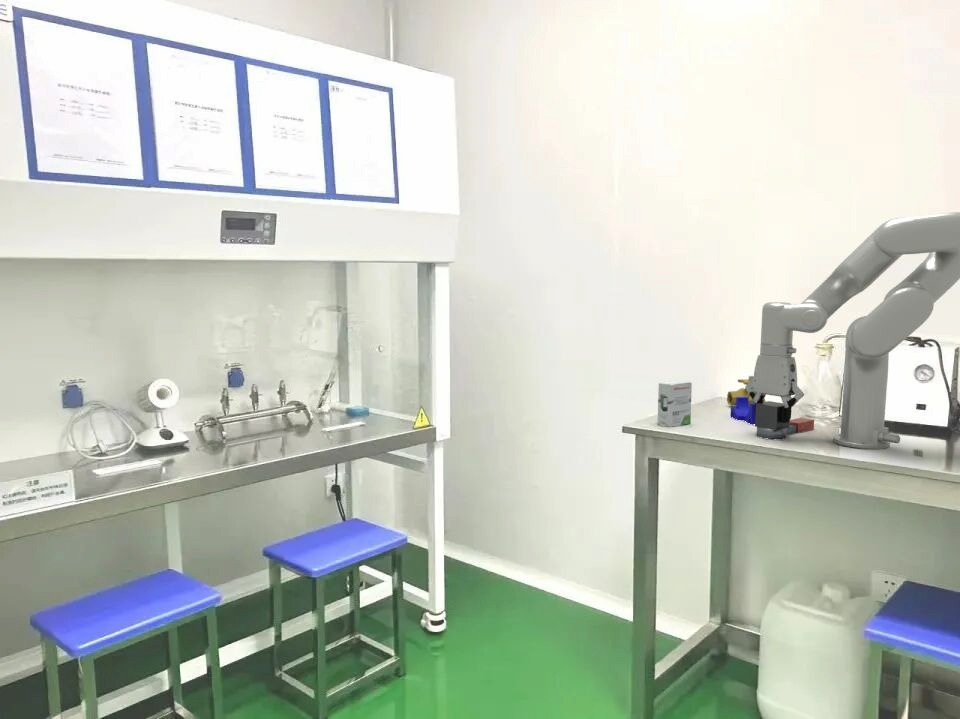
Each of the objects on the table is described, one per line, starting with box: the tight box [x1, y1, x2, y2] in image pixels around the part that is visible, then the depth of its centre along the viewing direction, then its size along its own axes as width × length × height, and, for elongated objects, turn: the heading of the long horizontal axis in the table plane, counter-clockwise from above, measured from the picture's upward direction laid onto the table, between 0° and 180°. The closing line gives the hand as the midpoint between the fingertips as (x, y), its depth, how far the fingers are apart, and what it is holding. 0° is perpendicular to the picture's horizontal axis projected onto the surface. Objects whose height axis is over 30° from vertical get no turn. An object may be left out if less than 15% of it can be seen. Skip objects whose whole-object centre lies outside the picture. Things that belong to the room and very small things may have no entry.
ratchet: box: [756, 417, 815, 440], centre depth 202 cm, size 21×7×6 cm, turn 128°
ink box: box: [657, 380, 693, 428], centre depth 212 cm, size 9×5×12 cm, turn 124°
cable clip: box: [730, 397, 755, 425], centre depth 218 cm, size 12×4×6 cm, turn 2°
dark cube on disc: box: [754, 400, 789, 430], centre depth 197 cm, size 6×6×6 cm
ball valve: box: [726, 375, 766, 409], centre depth 239 cm, size 13×10×10 cm
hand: (772, 419), depth 197 cm, fingers open, 6 cm apart
